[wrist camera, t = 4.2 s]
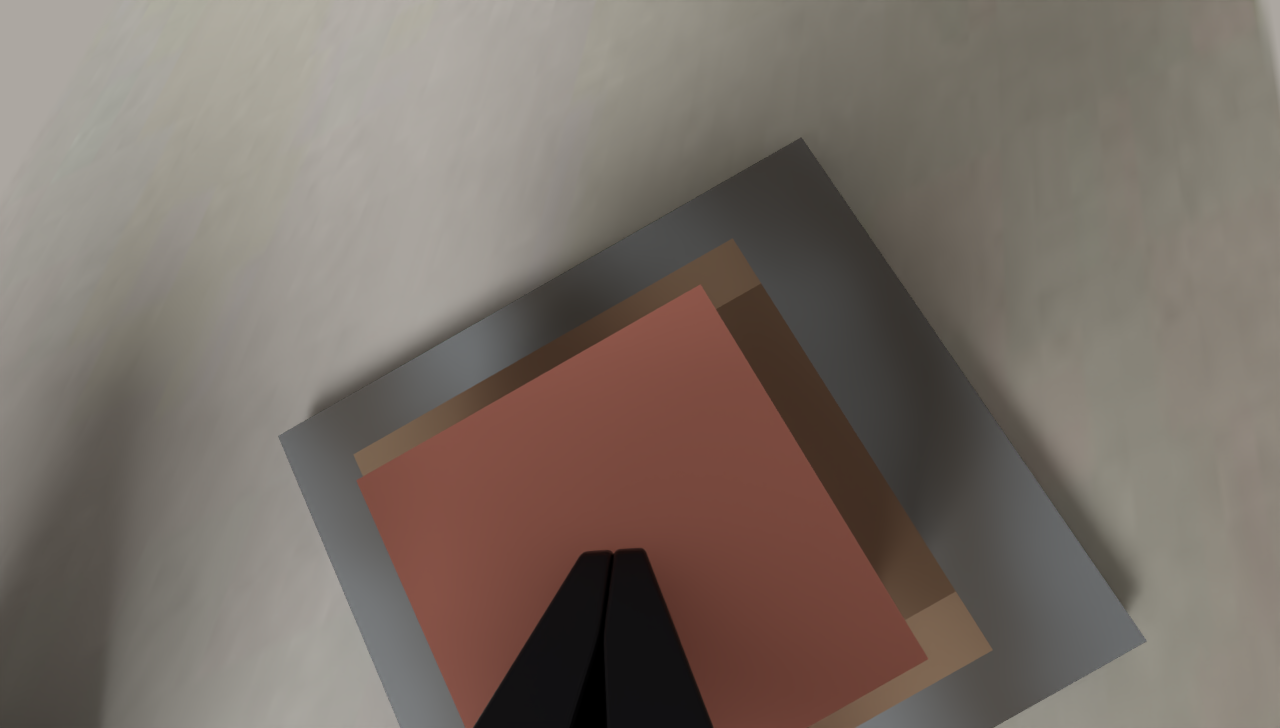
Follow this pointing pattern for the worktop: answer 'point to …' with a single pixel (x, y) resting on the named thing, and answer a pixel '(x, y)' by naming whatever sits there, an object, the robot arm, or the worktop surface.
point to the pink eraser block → (644, 526)
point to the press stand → (818, 420)
